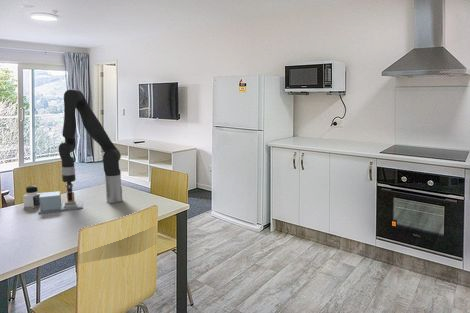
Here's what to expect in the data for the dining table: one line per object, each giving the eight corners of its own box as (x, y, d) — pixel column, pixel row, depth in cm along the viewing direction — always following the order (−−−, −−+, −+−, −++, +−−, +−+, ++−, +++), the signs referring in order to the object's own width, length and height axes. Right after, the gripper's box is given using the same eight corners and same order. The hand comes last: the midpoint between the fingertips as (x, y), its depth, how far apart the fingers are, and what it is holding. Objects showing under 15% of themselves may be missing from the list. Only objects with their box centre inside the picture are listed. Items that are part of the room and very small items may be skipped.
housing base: (81, 203, 222) (81, 199, 221) (82, 208, 211) (82, 205, 211) (40, 207, 212) (39, 204, 212) (38, 213, 201) (38, 210, 201)
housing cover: (61, 204, 216) (60, 191, 214) (60, 208, 207) (59, 195, 206) (41, 206, 211) (40, 193, 210) (40, 211, 203) (39, 197, 201)
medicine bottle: (34, 207, 213) (32, 188, 211) (23, 206, 214) (21, 187, 212) (42, 204, 220) (40, 185, 218) (32, 203, 221) (30, 184, 219)
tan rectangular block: (74, 200, 227) (73, 191, 226) (74, 202, 224) (74, 193, 223) (67, 201, 226) (66, 192, 225) (67, 203, 222) (66, 193, 221)
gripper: (75, 175, 217) (77, 201, 219) (74, 170, 229) (76, 195, 232) (61, 176, 214) (63, 202, 216) (62, 171, 226) (63, 196, 229)
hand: (70, 198), depth 224 cm, fingers open, 8 cm apart
